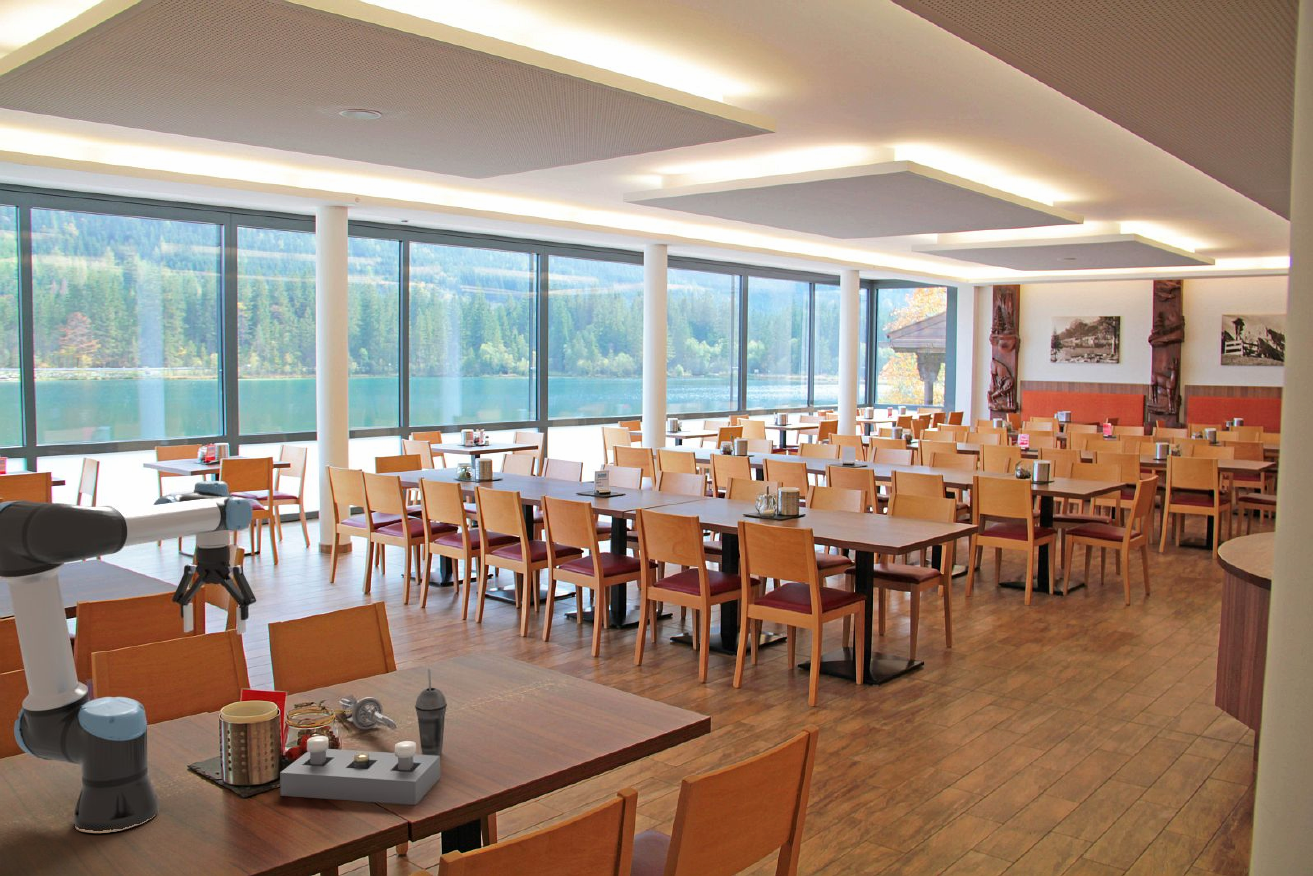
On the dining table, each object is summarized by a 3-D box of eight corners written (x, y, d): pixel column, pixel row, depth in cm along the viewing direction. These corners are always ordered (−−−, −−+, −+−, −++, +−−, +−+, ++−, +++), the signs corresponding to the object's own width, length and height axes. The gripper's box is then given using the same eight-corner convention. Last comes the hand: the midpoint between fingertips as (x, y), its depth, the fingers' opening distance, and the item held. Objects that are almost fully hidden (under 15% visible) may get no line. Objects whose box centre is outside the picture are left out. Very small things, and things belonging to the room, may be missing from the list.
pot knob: (365, 772, 218) (365, 759, 218) (351, 772, 219) (351, 758, 218) (372, 767, 221) (371, 753, 221) (358, 766, 222) (357, 752, 221)
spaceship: (374, 721, 238) (403, 702, 242) (322, 698, 266) (349, 681, 270) (388, 749, 239) (417, 730, 244) (335, 723, 267) (362, 706, 272)
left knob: (322, 766, 219) (322, 744, 218) (303, 765, 219) (303, 742, 219) (332, 759, 223) (331, 736, 223) (313, 757, 224) (313, 735, 223)
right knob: (411, 772, 216) (411, 749, 215) (391, 771, 216) (391, 748, 216) (419, 764, 220) (419, 741, 220) (400, 763, 221) (399, 740, 220)
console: (415, 805, 211) (415, 781, 211) (280, 795, 216) (280, 772, 215) (440, 778, 225) (439, 755, 224) (312, 769, 229) (312, 748, 229)
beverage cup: (420, 762, 234) (418, 676, 232) (412, 751, 240) (411, 668, 239) (451, 756, 237) (450, 672, 236) (442, 746, 244) (441, 663, 242)
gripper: (269, 544, 248) (271, 630, 250) (173, 541, 251) (175, 626, 253) (253, 549, 241) (255, 637, 242) (155, 546, 244) (157, 634, 245)
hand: (214, 632), depth 247 cm, fingers open, 13 cm apart
